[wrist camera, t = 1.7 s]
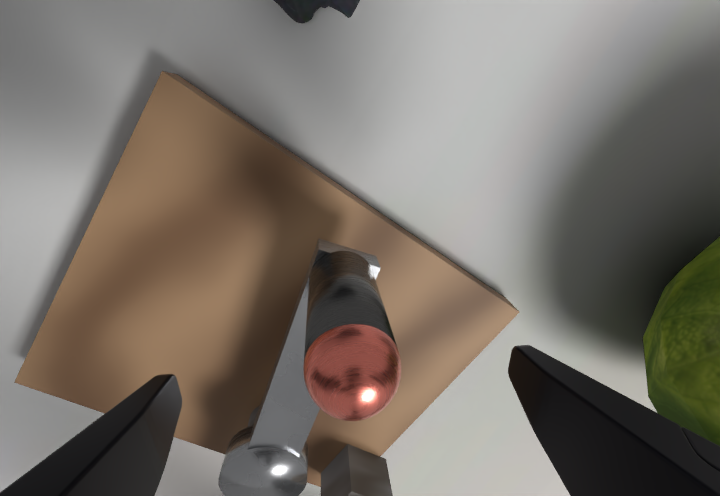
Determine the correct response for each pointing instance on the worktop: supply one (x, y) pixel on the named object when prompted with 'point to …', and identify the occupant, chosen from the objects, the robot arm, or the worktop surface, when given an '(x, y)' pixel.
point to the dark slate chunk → (315, 7)
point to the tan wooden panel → (242, 288)
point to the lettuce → (688, 347)
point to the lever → (318, 373)
